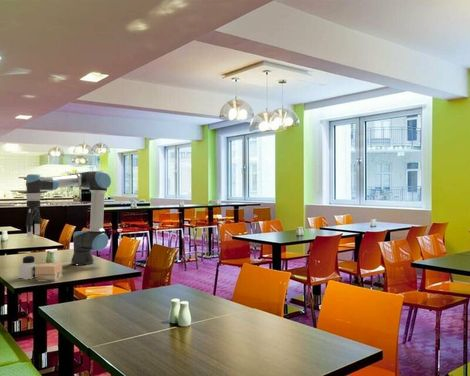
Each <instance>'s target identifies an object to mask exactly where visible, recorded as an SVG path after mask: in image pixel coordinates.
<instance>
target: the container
mask: <svg viewBox="0 0 470 376" xmlns="http://www.w3.org/2000/svg"><path fill="white" fill-rule="evenodd" d="M21 262H22V263H21V264H22V265H20V266H18V279H19V278H32V277H35V276H36V274H35V266H37V265H39V263H38V264H36V263H35V256H33V255H26V256H23V257H22V258H21Z"/></svg>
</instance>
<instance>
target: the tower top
mask: <svg viewBox="0 0 470 376" xmlns="http://www.w3.org/2000/svg"><path fill="white" fill-rule="evenodd" d="M60 271H62V272H63V262H43V263H40V264H38V265H37V266H35V274H56V273H58V272H60Z"/></svg>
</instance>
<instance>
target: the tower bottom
mask: <svg viewBox="0 0 470 376" xmlns="http://www.w3.org/2000/svg"><path fill="white" fill-rule="evenodd" d="M61 276H62V277H63V270H62V271H60V272H58V273H56V274H36V278H35V281H36V280H55V279H57V278H59V277H61Z"/></svg>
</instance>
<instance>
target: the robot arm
mask: <svg viewBox="0 0 470 376" xmlns="http://www.w3.org/2000/svg"><path fill="white" fill-rule="evenodd" d="M111 179H112V178H111V175H109V173H108V172H107V171H103V170H97V171H95V170H94V171H93V170H92V171H85V172H78V173H74V174H73V175H72V174H71V175H58V176H57V175H56V176H45V177H43V176H42V177H41V175H40V174H32V173H30V174H27V175H26V181H25V187H26V195H25V196H26V207H27V212H26V219H25V221H26V222H25V227H26V238H29V239H30V238H33V236H34V235H35V236H40V233H41V229H40V228H41V227H40V226H41V224H42V218H41V214H40V207H41V191H56V190H57V189H59V188H60V189H61V188H70V187H74V188H85V189H87V188H88V190H89V192H90V194H91V198H90V199H91V200H90V218H89V219H90V221H89V228H88V229H87V230H81V231H80V230H79V231H74V232H73V235H72V236H73V237H72V238H73V241H72V242H73V254H72V257H71V261H70V265H71V264H78V265H77V266H83V265H82V264H89V265H91V264H90V263H93V262H94V263H95V260H94V257H93V254H92V251H96V252H97V251H103V250H105V249H106V247H107V246H108V244H109V237H108V235H107V233H106V230H105V228H104V216H105V215H104V214H105V213H104V212H105V194H106V192H108V188H109V187H110V186H111V183H112V180H111ZM33 223H34V232H33ZM33 233H34V235H33ZM94 263H93V264H94Z"/></svg>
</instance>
